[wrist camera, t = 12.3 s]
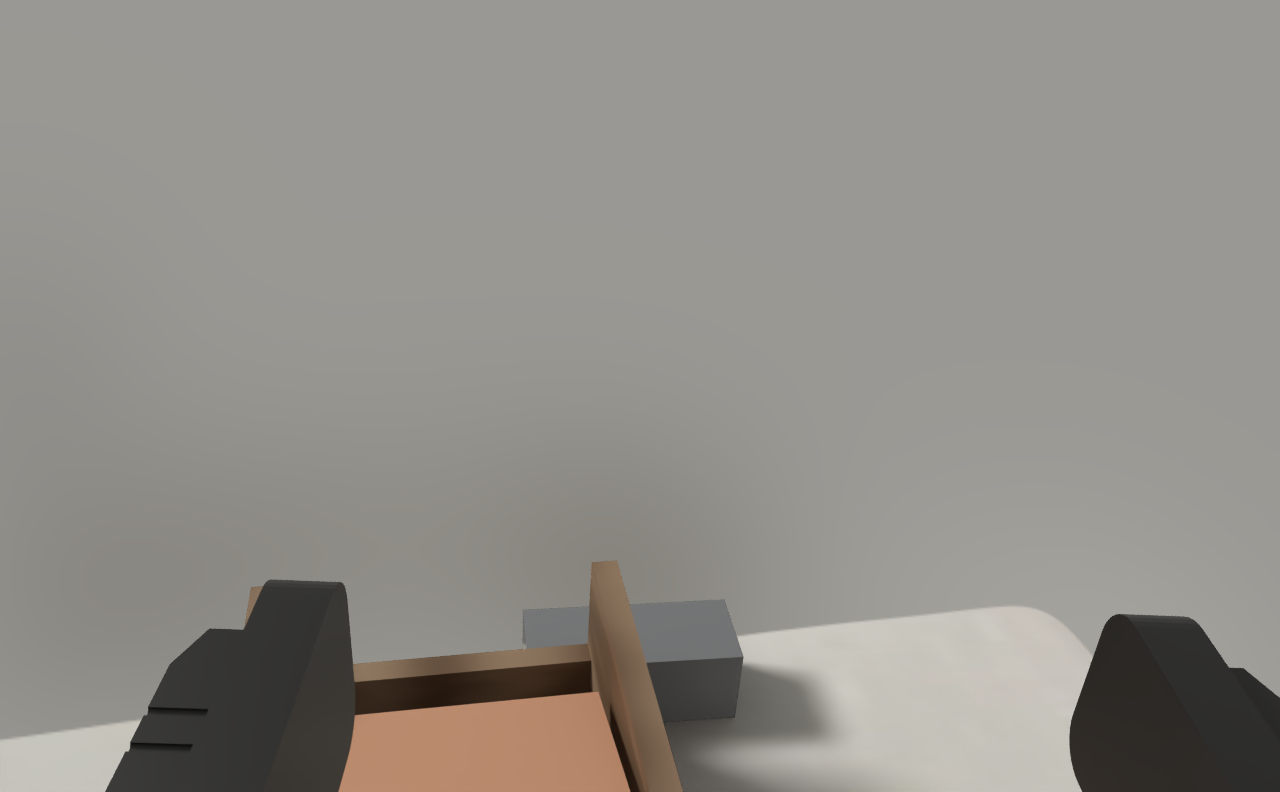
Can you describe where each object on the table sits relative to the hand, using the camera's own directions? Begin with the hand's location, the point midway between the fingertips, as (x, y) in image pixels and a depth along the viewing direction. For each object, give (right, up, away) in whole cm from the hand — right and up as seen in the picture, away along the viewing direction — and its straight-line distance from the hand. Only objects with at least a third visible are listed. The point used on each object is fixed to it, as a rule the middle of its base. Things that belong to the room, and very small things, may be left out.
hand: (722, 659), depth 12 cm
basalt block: (+4, -11, +48) cm, 49 cm away
